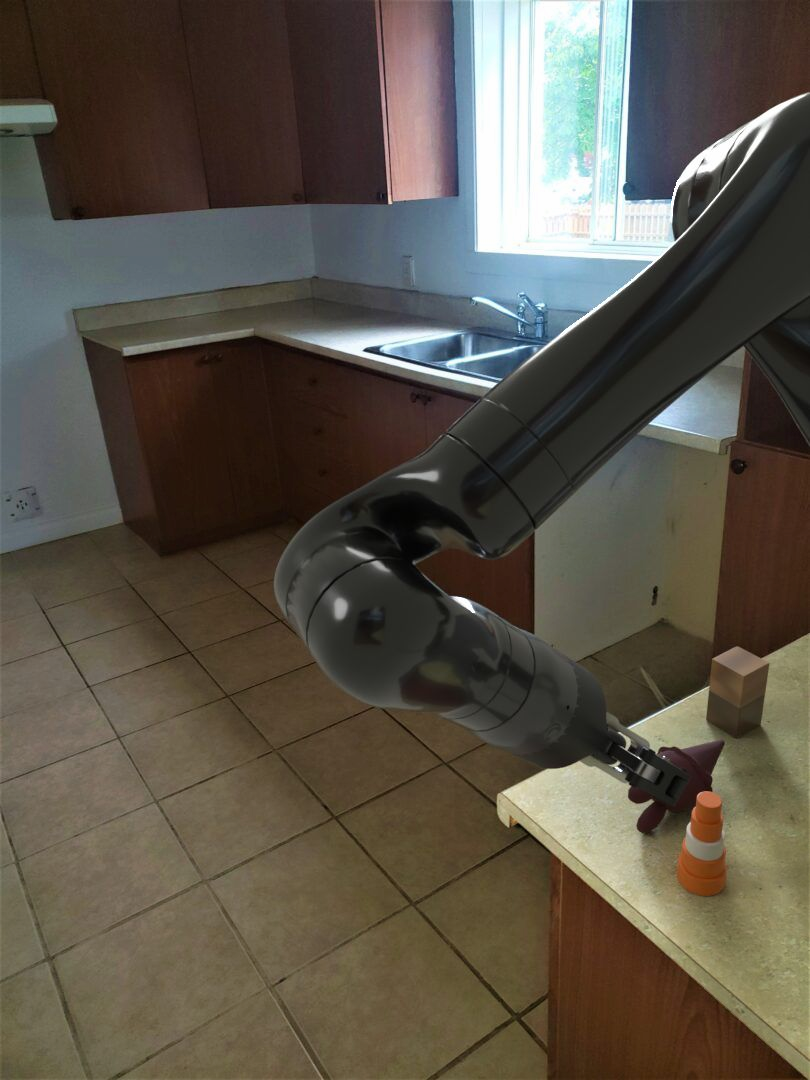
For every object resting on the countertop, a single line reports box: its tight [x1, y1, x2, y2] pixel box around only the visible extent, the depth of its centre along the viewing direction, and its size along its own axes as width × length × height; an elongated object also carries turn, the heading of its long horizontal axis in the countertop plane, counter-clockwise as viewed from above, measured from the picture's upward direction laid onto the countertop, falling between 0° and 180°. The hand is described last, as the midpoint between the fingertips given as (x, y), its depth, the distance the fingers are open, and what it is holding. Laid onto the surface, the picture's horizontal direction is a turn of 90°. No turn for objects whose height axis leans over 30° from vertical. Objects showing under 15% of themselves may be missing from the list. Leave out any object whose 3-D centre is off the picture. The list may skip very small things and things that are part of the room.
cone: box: [676, 791, 728, 897], centre depth 77 cm, size 4×4×10 cm
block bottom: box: [705, 689, 766, 739], centre depth 99 cm, size 4×4×4 cm
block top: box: [708, 645, 770, 708], centre depth 97 cm, size 4×4×4 cm
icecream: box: [627, 739, 726, 834], centre depth 87 cm, size 7×7×15 cm
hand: (630, 755), depth 64 cm, fingers open, 8 cm apart
